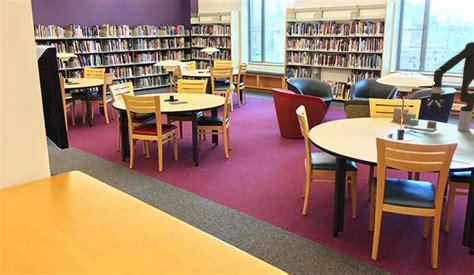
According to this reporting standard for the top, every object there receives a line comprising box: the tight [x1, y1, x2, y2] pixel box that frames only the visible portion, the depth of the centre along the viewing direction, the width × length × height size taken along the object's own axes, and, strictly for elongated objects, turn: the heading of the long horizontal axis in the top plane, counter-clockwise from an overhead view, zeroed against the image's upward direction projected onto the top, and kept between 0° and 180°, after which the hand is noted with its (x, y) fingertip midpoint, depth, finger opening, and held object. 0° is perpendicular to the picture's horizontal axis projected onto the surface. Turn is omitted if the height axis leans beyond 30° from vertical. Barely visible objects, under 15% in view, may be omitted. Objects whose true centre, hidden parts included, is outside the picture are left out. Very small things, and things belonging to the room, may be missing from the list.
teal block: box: [409, 118, 420, 126], centre depth 374 cm, size 6×6×6 cm
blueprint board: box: [403, 123, 437, 133], centre depth 362 cm, size 12×24×2 cm, turn 52°
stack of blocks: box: [392, 107, 417, 124], centre depth 391 cm, size 21×6×12 cm, turn 25°
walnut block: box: [426, 120, 437, 129], centre depth 365 cm, size 6×6×6 cm
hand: (433, 110), depth 362 cm, fingers open, 8 cm apart
